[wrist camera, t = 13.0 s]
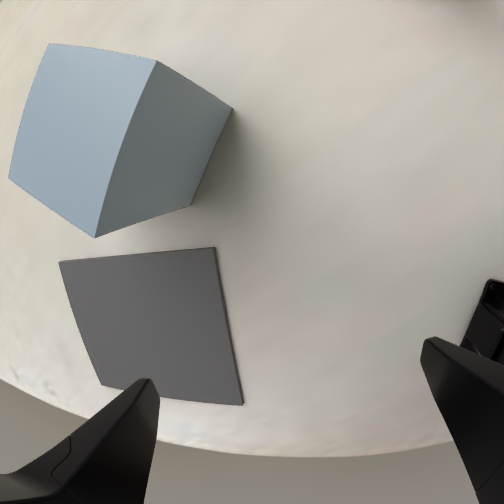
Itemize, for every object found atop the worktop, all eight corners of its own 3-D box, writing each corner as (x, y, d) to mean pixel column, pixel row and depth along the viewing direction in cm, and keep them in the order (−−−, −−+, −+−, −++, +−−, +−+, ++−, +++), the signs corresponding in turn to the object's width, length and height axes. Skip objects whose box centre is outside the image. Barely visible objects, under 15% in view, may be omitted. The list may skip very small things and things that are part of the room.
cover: (232, 108, 18) (156, 60, 9) (190, 205, 20) (94, 238, 11) (147, 79, 18) (48, 43, 9) (113, 167, 21) (8, 178, 11)
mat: (214, 247, 21) (212, 248, 20) (243, 402, 24) (242, 405, 24) (61, 261, 24) (58, 262, 24) (103, 383, 28) (101, 385, 27)
